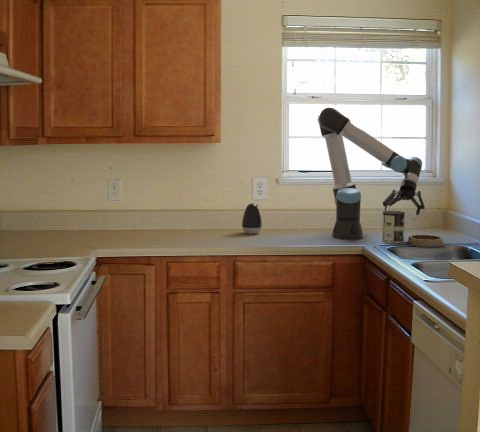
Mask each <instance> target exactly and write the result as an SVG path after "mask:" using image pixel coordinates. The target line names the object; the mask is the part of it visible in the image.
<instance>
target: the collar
mask: <svg viewBox="0 0 480 432" xmlns="http://www.w3.org/2000/svg"><path fill="white" fill-rule="evenodd" d="M408 244H409V245H408ZM444 244H445V242H444V237H442V236H438V235H435V234H434V235H433V234H412V235H411V234H410V235H409V236H408V240H407V241H406V245H408V246H410V245H414V246H413V247H415V246H417V248H429V249H436V248H444V247H445V245H444Z"/></svg>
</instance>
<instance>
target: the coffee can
mask: <svg viewBox="0 0 480 432" xmlns="http://www.w3.org/2000/svg"><path fill="white" fill-rule="evenodd" d="M405 214H406V213H405V212H404V211H402V210H401V211H400V210H390V211H385V210H383V211H382V227H381V228H382V232H381V233H382V234H381V242H382V243H387V244H388V243H390V244H402V243H404V241H405V240H404V239H405Z"/></svg>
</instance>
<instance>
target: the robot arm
mask: <svg viewBox="0 0 480 432" xmlns="http://www.w3.org/2000/svg"><path fill="white" fill-rule="evenodd" d="M317 124H318V126H319V131H320V134H321V137H322V138H324V139H325V143H326V149H327V153H328V158H329V163H330V169H331V172H332V177H333V182H334V184H333V187H332V192H333V196H334V204H335V206H336V209H335V211H336V212H335V215H336V216H335V223H334V224H333V228H332V230H331V231H332V232H331V236H332V237H333V238H336V239H342V240H343V239H344V240H356V239H362V238H364V232H363V231H364V230H363V228H362V223H361V201H362V200H361V199H362V194H361V193H362V192H361V191H360V190H359V189H357V187H356V186H357V185H356V182H354V181H352V177H351V173H350V167H349V163H348V162H349V161H348V159H347V158H348V156H347V153H346V147H345V144H344V143H345V142H344V138H345V139H347V140H348V141H350V142H351V143H353V144H354V145H356V146H357V147H359V148H360V149H361V150H363V151H365V152H366V153H368V154H369V155H371V156H372V157H374V158H375V159H376V160H377V161H380V162H381V166H383V167H385V168H387V169H390V170H392V171H394V172H397V173H401V174H403V177H402V180H401V184H400V187H399V189H398V190H395V189H392V191H391V193H390V194H389V195H388V196H387V197H386V198H385V199H384V200H383V201H382V206H383V208H384V211H391V207H392V206H393V205H394V204H396V203H397V202H399V201H401V200H402V201H409V200H410V201H411V202H412V203H413V205H414V206H415V209H414V213H413V216H412V220H413V222H416V221H417V216H419V215H420V213H421V211H422V210H425V204H424V201H423V198H422V192H421V190H418V191H416V190H417V186H418V182H419V179H420V175H421V172H422V168H423V161H422V159H421V158H419V157H416V156H411V157H409V158H406V157H404V156H403V155H402V156H401V155H400V154H399V153H397V152H396V151H394V150H393V149H391V148H390V147H388V146H387V145H385V144H384V143H383V142H381V141H379V140H378V139H377V138H375V137H373V135H371V134H369V133H367V132H366V131H364V130H363V129H361V128H360V127H359V126H357V125H356V124H354V123H353V122H351V118H349V117H348V116H346V115H345V114H344V113H343V112H342V111H341V110H340V109H339V108H338V107H336V106H331V105H329V106H326V107H325V106H324V108H322V109H321V110H320V111H319V113H318V115H317ZM415 197H417V198H418V201H419V202H418V201H417V200H416V198H415Z"/></svg>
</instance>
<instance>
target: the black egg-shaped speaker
mask: <svg viewBox="0 0 480 432" xmlns="http://www.w3.org/2000/svg"><path fill="white" fill-rule="evenodd" d="M258 206H259V204H258V203H257V204H256V203H249V204H248V205H247V206H246V208H245V210H244V211H243V216H242V222H241V227H242V230H243V232H244V233H245V234H247V235H256V234H258V233H260V232H261V230H262V227H263V223H262V222H263V221H262V215H261V213H260V209H259V207H258Z"/></svg>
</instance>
